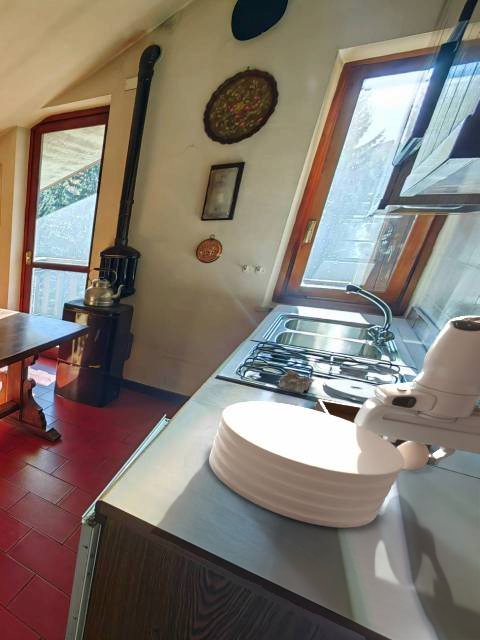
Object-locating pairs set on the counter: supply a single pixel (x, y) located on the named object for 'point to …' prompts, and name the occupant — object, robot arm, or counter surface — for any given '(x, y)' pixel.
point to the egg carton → (295, 382)
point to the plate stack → (304, 463)
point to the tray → (345, 413)
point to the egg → (414, 455)
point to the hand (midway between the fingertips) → (408, 459)
